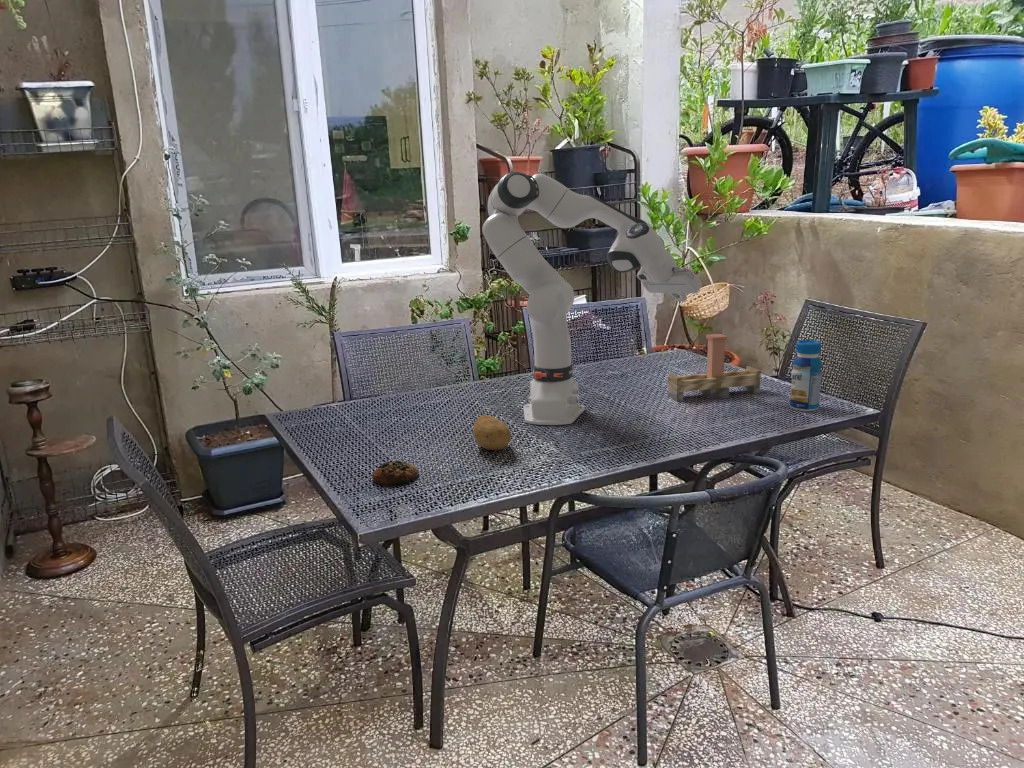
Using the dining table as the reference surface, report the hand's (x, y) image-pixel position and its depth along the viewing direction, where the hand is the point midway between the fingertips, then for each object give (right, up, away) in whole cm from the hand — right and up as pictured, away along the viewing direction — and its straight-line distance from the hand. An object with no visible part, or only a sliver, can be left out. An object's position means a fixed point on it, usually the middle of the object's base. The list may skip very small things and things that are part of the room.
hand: (682, 300), depth 233 cm
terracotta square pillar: (+11, -25, +3) cm, 27 cm away
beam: (+11, -30, +4) cm, 32 cm away
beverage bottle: (+33, -34, -12) cm, 49 cm away
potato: (-58, -44, -36) cm, 81 cm away
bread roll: (-82, -49, -53) cm, 109 cm away
